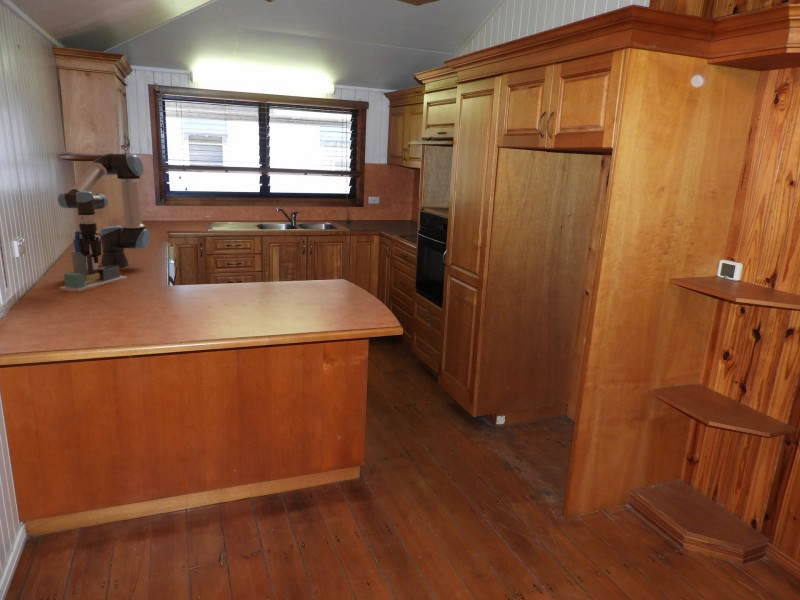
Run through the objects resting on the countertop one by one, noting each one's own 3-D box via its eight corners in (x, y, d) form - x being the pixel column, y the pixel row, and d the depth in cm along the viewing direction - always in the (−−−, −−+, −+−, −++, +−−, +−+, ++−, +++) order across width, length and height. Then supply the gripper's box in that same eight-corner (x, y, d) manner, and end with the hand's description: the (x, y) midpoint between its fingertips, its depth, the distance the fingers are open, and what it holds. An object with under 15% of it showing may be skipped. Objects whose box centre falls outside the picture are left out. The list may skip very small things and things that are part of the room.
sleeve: (110, 275, 304) (109, 264, 302) (120, 276, 302) (118, 265, 301) (94, 279, 294) (93, 268, 292) (104, 280, 292) (103, 269, 290)
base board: (109, 276, 307) (109, 274, 306) (127, 278, 304) (127, 276, 303) (59, 289, 277) (59, 287, 277) (79, 291, 274) (79, 289, 274)
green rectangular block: (72, 285, 281) (70, 272, 280) (85, 286, 279) (83, 273, 277) (65, 286, 278) (63, 274, 276) (78, 288, 275) (77, 275, 274)
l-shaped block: (109, 274, 301) (107, 250, 298) (114, 274, 300) (112, 250, 297) (82, 281, 284) (79, 255, 280) (86, 281, 283) (84, 256, 280)
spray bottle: (96, 276, 307) (91, 230, 301) (87, 279, 298) (82, 232, 292) (80, 275, 307) (75, 229, 301) (71, 279, 299) (65, 232, 292)
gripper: (68, 222, 280) (73, 268, 286) (94, 224, 276) (99, 271, 282) (80, 221, 287) (85, 266, 293) (106, 223, 283) (111, 268, 289)
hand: (92, 268), depth 288 cm, fingers closed on l-shaped block, 3 cm apart
